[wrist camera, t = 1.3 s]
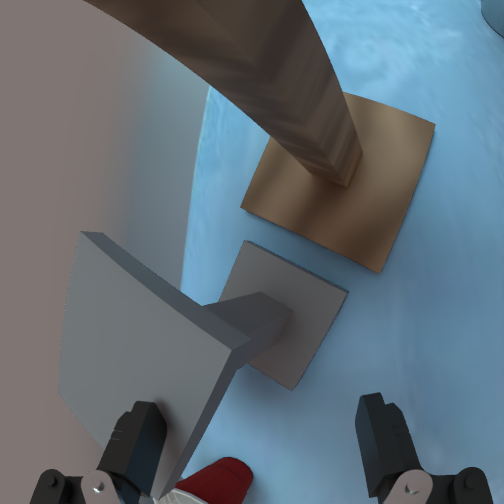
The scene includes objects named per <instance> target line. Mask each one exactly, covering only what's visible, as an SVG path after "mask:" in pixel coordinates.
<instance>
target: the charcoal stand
mask: <svg viewBox="0 0 504 504" xmlns="http://www.w3.org/2000/svg"><path fill="white" fill-rule="evenodd" d="M348 292H349V291H347V290H345V289H343V288H341V287H339V286H337V285H335V284H333V283H331V282H329V281H327V280H325V279H323V278H322V277H320V276H318V275H316V274H314V273H312V272H310V271H308V270H306V269H304V268H302V267H300V266H298V265H296V264H294V263H292V262H290V261H288V260H286V259H285V258H283V257H281V256H279V255H277V254H275V253H273V252H271V251H269V250H267V249H265V248H263V247H261V246H259V245H257V244H255V243H253V242H251V241H245V240H244V242H243V244H242V247H241V249H240V251H239V254H238V256H237V259H236V261H235V263H234V266H233V268H232V271H231V273H230V275H229V278H228V280H227V282H226V285H225V287H224V290H223V292H222V295H221V297H220V299H219V302H217V303H212V304H208V305H204V306H201V305H199V304H198V303H196V302H195V301H193V300H192V299H191V298H189V297H188V296H186V295H185V294H183V293H182V292H181V291H179V290H177V289H176V288H175V287H173V286H172V285H171V284H169V283H168V282H167V281H165V280H164V279H162V278H161V277H160V276H158V275H157V274H156V273H154V272H153V271H152V270H150V269H149V268H147V267H146V266H145V265H143V264H142V263H141V262H139V261H138V260H137V259H136V258H134V257H133V256H131V255H130V254H129V253H128V252H126V251H125V250H124V249H122V248H121V247H120V246H119V245H117V244H116V243H115V242H114V241H112V240H111V239H110V238H108V237H107V236H106V235H104V234H103V233H99V232H85V231H81V232H80V235H79V239H78V243H77V247H76V252H75V257H74V262H73V266H72V271H71V276H70V281H69V287H68V293H67V299H66V305H65V312H64V320H63V328H62V338H61V349H60V363H59V382H58V394H59V395H60V396H61V398H62V399H63V401H64V402H65V403H66V405H67V406H68V407H69V409H70V410H71V411H72V413H73V414H74V415H75V417H76V418H77V419H78V420H79V422H80V423H81V424H82V425H83V427H85V429H86V430H87V431H88V433H89V434H91V436H92V437H93V438H94V439H95V441H96V442H97V443H98V444H99V445H100V446H101V447H102V449H103V450H104V451H105V449H106V446H107V444H108V441H109V439H111V434H112V432H113V431H114V427H115V425H116V423H117V420H118V419H119V418H120V417H121V416H122V415H123V414H124V413H125V412H126V411H128V412H131V410H132V408H133V405H134V403H135V402H136V401H147V402H154V403H156V405H157V407H158V409H159V410H160V412H161V414H162V416H163V418H164V420H165V422H166V424H167V437H166V440H165V444H164V447H163V451H162V454H161V458H160V461H159V465H158V468H157V472H156V475H155V479H154V483H153V486H152V490H151V494H150V495H151V496H152V497H153V498H154V499H156V500H157V501H158V500H160V499H161V498H163V497H164V496H165V495H166V494H168V493H169V492H170V491H172V490H173V489H174V487H175V485H176V484H177V482H178V480H179V478H180V476H181V475H182V473H183V471H184V469H185V468H186V466H187V464H188V462H189V460H190V458H191V457H192V455H193V453H194V451H195V449H196V447H197V446H198V444H199V442H200V440H201V438H202V436H203V434H204V432H205V431H206V429H207V427H208V425H209V423H210V421H211V419H212V417H213V415H214V413H215V412H216V410H217V408H218V406H219V404H220V402H221V400H222V398H223V396H224V394H225V392H226V390H227V388H228V386H229V384H230V382H231V380H232V378H233V376H234V374H235V372H236V370H238V369H239V368H241V367H242V366H244V365H245V364H247V363H248V364H249V365H251V366H253V367H254V368H256V369H257V370H259V371H260V372H262V373H263V374H265V375H267V376H268V377H270V378H271V379H273V380H275V381H276V382H278V383H280V384H281V385H283V386H284V387H286V388H288V389H289V390H291V391H292V390H293V389H294V388H295V387H296V385H297V384H298V382H299V381H300V379H301V377H302V376H303V374H304V372H305V371H306V369H307V367H308V366H309V364H310V362H311V361H312V359H313V357H314V355H315V354H316V352H317V350H318V348H319V347H320V345H321V343H322V341H323V340H324V338H325V336H326V334H327V332H328V331H329V329H330V327H331V325H332V323H333V321H334V319H335V318H336V316H337V314H338V312H339V310H340V308H341V306H342V304H343V302H344V300H345V298H346V296H347V294H348Z"/></svg>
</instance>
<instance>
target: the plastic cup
mask: <svg viewBox="0 0 504 504" xmlns="http://www.w3.org/2000/svg"><path fill="white" fill-rule="evenodd" d="M252 479H253V474H252V472H251V470H250V468H249V467H248V466H247V465H246V464H245V463H244V462H242V461H240V460H238V459H236V458H232V457H224V458H222V459H220V460H218V461H216V462H215V463H213V464H211V465H208V466H207V467H205V468H203V469H202V470H200V471H198V472H196V473H195V474H193V475H191V476H189V477H188V478H186V479H184V480H182V481H179V482H177V484H176V485H175V487H174V489H173V490H172V491H170V492H169V493H168V494H166V495H165V496H164V497H163V498H161V499H160V500H158V501H157V500H156V499H154V498H153V500H154V503H155V504H242V502H243V500H244V498H245V496H246V494H247V490H248V488H249V487H250V485H251V483H252Z"/></svg>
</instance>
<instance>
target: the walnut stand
mask: <svg viewBox="0 0 504 504" xmlns="http://www.w3.org/2000/svg"><path fill="white" fill-rule="evenodd" d="M84 1H86V2H88V3H89V4H91V5H93V6H95V7H97V8H98V9H100V10H102V11H104V12H105V13H107V14H109V15H110V16H112V17H114V18H115V19H117V20H119V21H120V22H122V23H123V24H125V25H127V26H128V27H130V28H131V29H133V30H135V31H136V32H138V33H139V34H141V35H142V36H144V37H145V38H147V39H148V40H150V41H151V42H152V43H154V44H155V45H157V46H158V47H160V48H161V49H163V50H164V51H165V52H167V53H168V54H170V55H171V56H173V57H174V58H175V59H177V60H178V61H180V62H181V63H182V64H184V65H185V66H186V67H188V68H189V69H190V70H192V71H193V72H194V73H196V74H197V75H198V76H200V77H201V78H202V79H203V80H205V81H206V82H207V83H208V84H210V85H211V86H212V87H214V88H215V89H216V90H217V91H219V92H220V93H221V94H222V95H224V96H225V97H226V98H227V99H228V100H230V101H231V102H232V103H233V104H234V105H236V106H237V107H238V108H239V109H240V110H242V111H243V112H244V113H245V114H246V115H247V116H249V117H250V118H251V119H252V120H253V121H254V122H256V123H257V124H258V125H259V126H260V127H261V128H262V129H263V130H265V131H266V132H267V133H268V134H269V135H270V136H271V137H270V139H269V141H268V143H267V146H266V148H265V150H264V153H263V155H262V157H261V159H260V162H259V164H258V166H257V169H256V171H255V173H254V176H253V178H252V180H251V183H250V185H249V187H248V190H247V192H246V194H245V197H244V199H243V201H242V204H241V206H240V208H242V209H245V210H247V211H249V212H251V213H253V214H256V215H258V216H260V217H262V218H264V219H266V220H269V221H271V222H273V223H275V224H277V225H279V226H282V227H284V228H286V229H288V230H290V231H292V232H294V233H296V234H299V235H301V236H303V237H305V238H307V239H309V240H311V241H313V242H315V243H317V244H320V245H322V246H324V247H326V248H328V249H330V250H332V251H334V252H336V253H338V254H340V255H342V256H344V257H346V258H348V259H350V260H352V261H354V262H356V263H358V264H360V265H362V266H364V267H366V268H368V269H370V270H372V271H374V272H376V273H378V274H380V272H381V270H382V267H383V265H384V263H385V261H386V259H387V257H388V254H389V252H390V250H391V248H392V245H393V243H394V241H395V238H396V236H397V234H398V231H399V229H400V227H401V224H402V222H403V219H404V217H405V214H406V212H407V209H408V206H409V204H410V201H411V199H412V196H413V193H414V190H415V188H416V185H417V182H418V179H419V176H420V174H421V171H422V168H423V165H424V162H425V158H426V155H427V152H428V149H429V146H430V142H431V139H432V136H433V132H434V129H435V125H436V124H434V123H432V122H429V121H427V120H425V119H422V118H420V117H417V116H415V115H412V114H409V113H407V112H404V111H402V110H399V109H396V108H393V107H390V106H388V105H385V104H382V103H379V102H376V101H373V100H369V99H366V98H363V97H360V96H356V95H353V94H349V93H346V92H342V89H341V86H340V84H339V81H338V79H337V76H336V74H335V71H334V69H333V66H332V64H331V62H330V59H329V57H328V55H327V52H326V50H325V48H324V45H323V43H322V41H321V39H320V37H319V35H318V32H317V30H316V28H315V26H314V24H313V22H312V20H311V18H310V16H309V14H308V12H307V10H306V8H305V6H304V4H303V2H302V0H84Z"/></svg>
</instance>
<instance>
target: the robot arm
mask: <svg viewBox="0 0 504 504" xmlns="http://www.w3.org/2000/svg"><path fill="white" fill-rule="evenodd" d="M481 11H482V14H483V16H484V18H485V20H486V21H487V22H488V23H489V25H490V26H491V27H492V28H493V29H494V30H495V31H497V32H498V33H499V34H500V35H502V36H503V37H504V0H482V5H481ZM355 426H356V433H357V437H358V442H359V447H360V451H361V456H362V461H363V466H364V472H365V477H366V482H367V488H368V493H369V498H372V497H376V496H377V498H378V503H379V504H493V500H492V496H491V493H490V489H489V486H488V482H487V479H486V476H485V474H484V472H483V471H482V470H481V469H479V468H476V467H468V468H465V469H463V470H462V471H461V472H459V473H458V474H457V475H441V476H437V475H432V474H429V473H427V472H426V471H425V470H424V469H423V468H422V467H421V465H420V463H419V460H418V457H417V454H416V450H415V447H414V444H413V441H412V438H411V436H410V433H409V430H408V427H407V425H406V421H405V419H404V416H403V413H402V411H401V410H400V409H399V408H398V407H397V406H396V405H395V404H394V403H390V404H386V405H385V403H384V400H383V397H382V395H381V393H380V392H378V393H373V394H367V395H362V396H361V397H360V400H359V405H358V409H357V414H356V419H355ZM166 437H167V424H166V422H165V420H164V418H163V416H162V414H161V412H160V410H159V409H158V407H157V405H156V403H154V402H147V401H136V402H135V403H134V405H133V408H132V410H131V412H128V411H126V412H125V413H124V414H123V415H122V416H121V417H120V418H119V419H118V420H117V423H116V425H115V427H114V431H113V432H112V434H111V439H109V441H108V444H107V446H106V449H105V451H104V453H103V456H102V458H101V461H100V463H99V465H98V467H97V469H96V470H94V471H90V472H88V473H87V474H86V475H85V476H82V477H72V476H64V475H63V474H61V472H59V471H58V470H55V469H50V470H46V471H45V472H43V473H42V474H41V476H40V478H39V480H38V483H37V486H36V488H35V490H34V493H33V496H32V499H31V501H30V504H140V503H139V498H140V496H144V497H150V494H151V490H152V486H153V483H154V479H155V475H156V472H157V468H158V465H159V461H160V458H161V454H162V451H163V447H164V444H165V440H166Z"/></svg>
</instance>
